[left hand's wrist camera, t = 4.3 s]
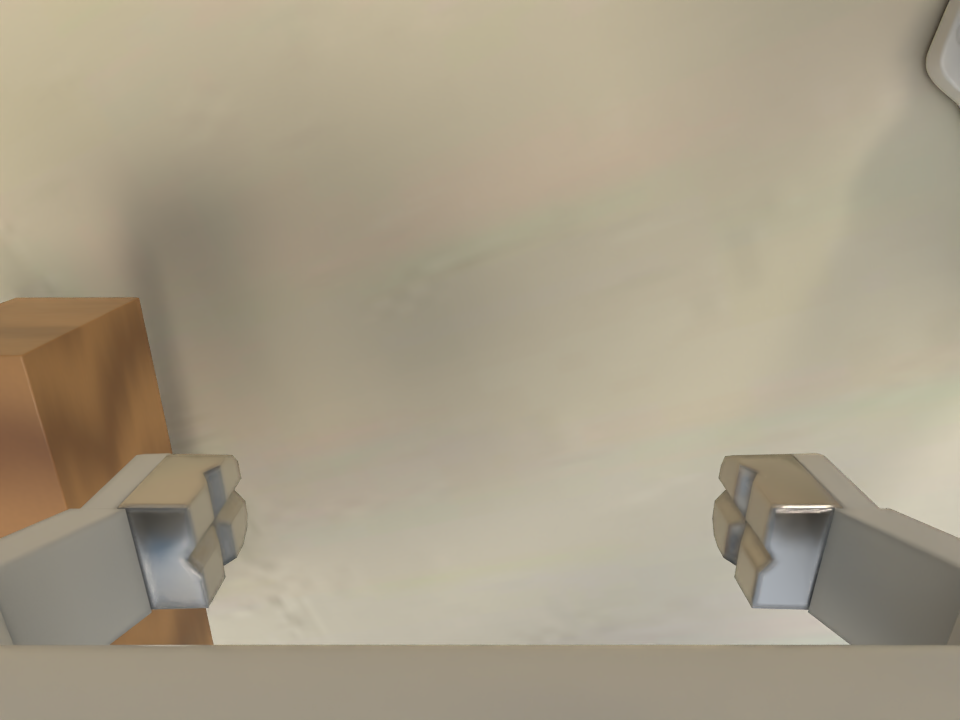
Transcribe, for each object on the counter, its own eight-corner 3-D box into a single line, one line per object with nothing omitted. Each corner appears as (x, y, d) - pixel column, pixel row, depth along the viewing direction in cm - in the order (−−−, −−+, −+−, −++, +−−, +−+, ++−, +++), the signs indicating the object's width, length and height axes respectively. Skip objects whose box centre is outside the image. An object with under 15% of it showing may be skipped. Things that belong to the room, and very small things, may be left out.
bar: (15, 297, 29) (-145, 355, 21) (139, 297, 29) (21, 355, 21) (121, 659, 37) (32, 791, 30) (217, 659, 37) (151, 791, 30)
